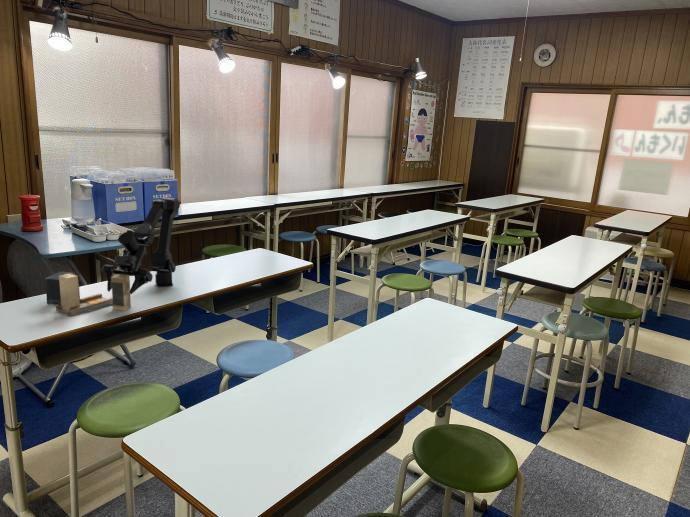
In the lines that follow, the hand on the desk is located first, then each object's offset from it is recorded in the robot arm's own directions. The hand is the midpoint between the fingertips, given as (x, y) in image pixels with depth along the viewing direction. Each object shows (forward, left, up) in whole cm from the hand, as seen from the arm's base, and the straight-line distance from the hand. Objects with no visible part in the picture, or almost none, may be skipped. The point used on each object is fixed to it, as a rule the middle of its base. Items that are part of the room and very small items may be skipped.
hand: (119, 292), depth 193 cm
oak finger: (-1, -1, -7) cm, 7 cm away
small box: (+20, -17, -7) cm, 27 cm away
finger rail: (+12, -6, -7) cm, 15 cm away
